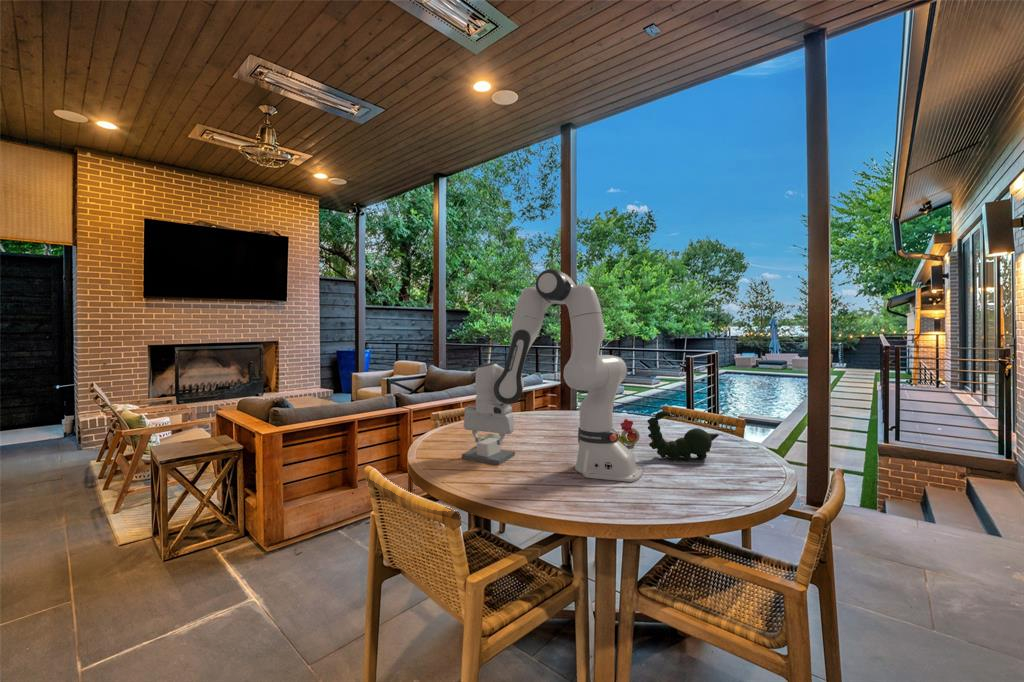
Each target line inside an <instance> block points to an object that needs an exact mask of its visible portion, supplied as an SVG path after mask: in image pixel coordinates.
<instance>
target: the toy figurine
mask: <svg viewBox="0 0 1024 682" xmlns="http://www.w3.org/2000/svg"><path fill="white" fill-rule="evenodd" d="M672 416H673V415H672V414H671V413H670V412H668V411H666V410H660V411H657V412H656V413H655V416H654V417H653V416H651V417H650V418H649V419H647V421H646V422H647V423H648V424H649V425H648V426H647V430H649V432H650V433H649V434H648V435H647V437H648V438H649V439H650V440H651V442H649V444H648V445H649V447H650V448H651V449H653V450H656V454H657V455H658V456H660V457H661V459H665V458H666V457H668V458H671V460H672V461H674V462H676V461H678V460H679V457H682V458H684V460H686V461H689V460H691V458H692V455H695V456H696V457H697V458H698V459H699V460H705V459H707V456H708V455H707V453H709V452H710V451H711V447H712V444H713V443H712V442H713V441H714V440H715V439H716V438H718V437H719V436H720V435H719V434H718V433H709V432H707V431H706V430H704V429H702V428H697V427H695V428H692V429H689V430H688V431H686V433H684V435H683V437H679V438H676V439H675V440H671V441H666V439H665V438H664V437H663V434H662V432H661V426H660V425H659V420H661V419H663V418H664V417H668V418H672ZM691 454H692V455H691Z"/></svg>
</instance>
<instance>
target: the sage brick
mask: <svg viewBox="0 0 1024 682" xmlns="http://www.w3.org/2000/svg"><path fill="white" fill-rule="evenodd" d="M488 438H494V439H500V436H499V433H487V434H485V435H484V436H482V437H481V441H483V440H485V439H488Z"/></svg>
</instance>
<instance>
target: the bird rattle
mask: <svg viewBox="0 0 1024 682" xmlns="http://www.w3.org/2000/svg"><path fill="white" fill-rule="evenodd" d="M633 425H634V421H632V420H629V419H627V418H625V419H624V420H623V422H621V423H620V427H621V430H622V432H621V434H620V433H619V435H618V441H619V442H621V443H622V444H623V445H624V446H625V447H627V446H626V445H628V446H633V447H634V446H635V445H636V444H637V443H638V442H639V440H640V433H639V431H638V430H637V429H636V428H635V427H632V426H633Z"/></svg>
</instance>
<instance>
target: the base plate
mask: <svg viewBox="0 0 1024 682" xmlns="http://www.w3.org/2000/svg"><path fill="white" fill-rule="evenodd" d="M515 456H516V451H515V450H509V449H508V450H507V449H501V448H500V452H498V453H496V454H493V455H491V456H489V457H485V456H481V455H477V446H476V447H474V448H472V449H471V450H468V451H466V452H464V453H462V454H461V459H462V458H464V459H463V460H468V459H469V461H475V462H480V463H486V464H491V465H492V464H493V465H498V466H500V465H501V464H503V463H505V462H506V461H508V460H510V459H512V458H513V457H515Z"/></svg>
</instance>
